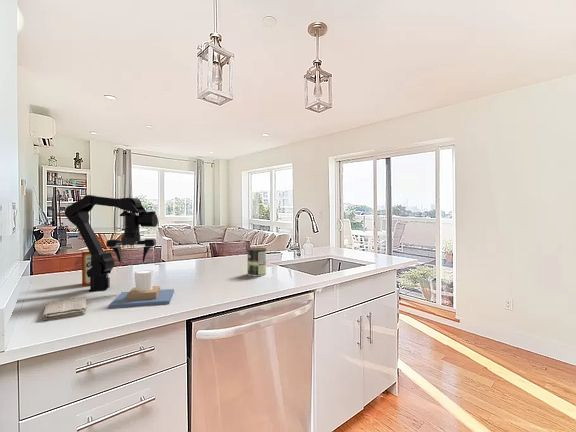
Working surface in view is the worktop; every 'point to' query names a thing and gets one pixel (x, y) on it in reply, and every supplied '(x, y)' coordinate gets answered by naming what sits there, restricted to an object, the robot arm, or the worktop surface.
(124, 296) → the board
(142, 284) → the white cup
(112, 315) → the worktop surface
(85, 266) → the baking soda box
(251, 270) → the coffee can
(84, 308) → the washcloth
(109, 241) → the robot arm
